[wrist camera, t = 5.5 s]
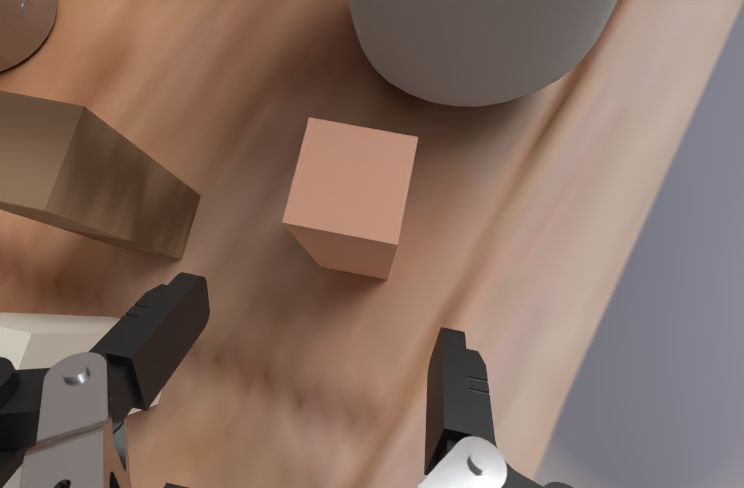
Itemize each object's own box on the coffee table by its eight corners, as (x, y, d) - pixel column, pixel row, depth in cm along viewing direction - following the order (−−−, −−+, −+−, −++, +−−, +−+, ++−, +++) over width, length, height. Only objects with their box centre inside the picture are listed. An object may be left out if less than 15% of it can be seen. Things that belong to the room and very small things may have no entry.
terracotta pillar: (387, 279, 23) (397, 244, 13) (320, 266, 23) (282, 222, 14) (399, 215, 24) (418, 137, 14) (334, 202, 24) (309, 117, 14)
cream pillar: (158, 404, 22) (-18, 467, 12) (88, 389, 22) (-141, 438, 12) (179, 331, 23) (31, 333, 13) (112, 316, 23) (-85, 308, 13)
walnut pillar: (181, 259, 23) (43, 210, 14) (116, 246, 24) (-66, 188, 14) (200, 195, 24) (84, 106, 14) (137, 183, 24) (-20, 86, 15)
